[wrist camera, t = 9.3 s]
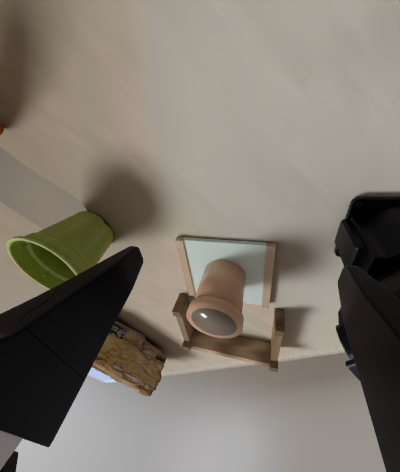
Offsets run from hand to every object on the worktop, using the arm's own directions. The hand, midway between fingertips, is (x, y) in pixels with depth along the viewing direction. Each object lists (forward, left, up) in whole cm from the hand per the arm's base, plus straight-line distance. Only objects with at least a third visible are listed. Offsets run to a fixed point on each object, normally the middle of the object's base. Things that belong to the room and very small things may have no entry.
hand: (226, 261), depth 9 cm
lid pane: (+3, +14, -12) cm, 19 cm away
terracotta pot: (+3, +14, -12) cm, 19 cm away
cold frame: (+3, +26, -12) cm, 29 cm away
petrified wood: (+28, +41, -13) cm, 52 cm away
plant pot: (+22, +8, -13) cm, 27 cm away
